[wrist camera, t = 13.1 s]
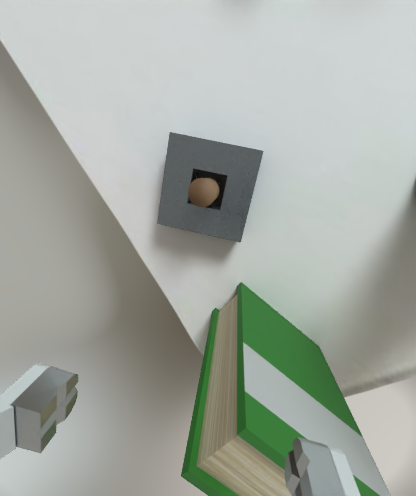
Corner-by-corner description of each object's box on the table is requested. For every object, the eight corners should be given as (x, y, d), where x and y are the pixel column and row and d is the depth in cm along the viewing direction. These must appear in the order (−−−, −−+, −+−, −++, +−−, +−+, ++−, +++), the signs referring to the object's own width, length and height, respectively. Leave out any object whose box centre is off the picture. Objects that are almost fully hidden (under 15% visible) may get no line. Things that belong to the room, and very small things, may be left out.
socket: (260, 154, 33) (263, 150, 30) (240, 235, 37) (240, 242, 33) (177, 137, 34) (169, 132, 30) (165, 219, 38) (157, 223, 34)
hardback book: (212, 311, 41) (181, 476, 19) (241, 282, 39) (245, 428, 16) (287, 371, 43) (344, 591, 20) (319, 346, 41) (422, 561, 18)
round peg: (223, 180, 35) (218, 181, 26) (218, 202, 36) (212, 209, 27) (201, 175, 35) (190, 175, 27) (197, 197, 36) (185, 203, 28)
